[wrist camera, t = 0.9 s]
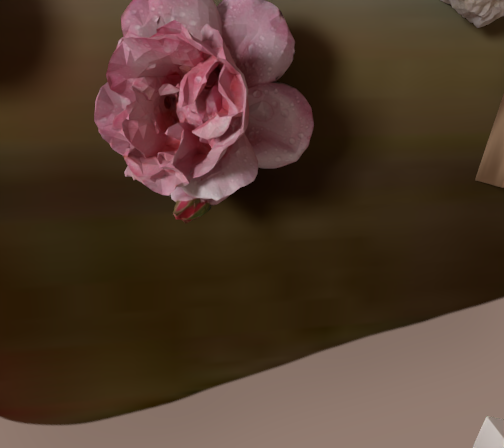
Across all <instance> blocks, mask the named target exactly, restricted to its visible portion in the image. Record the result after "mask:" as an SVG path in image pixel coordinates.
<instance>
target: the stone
mask: <svg viewBox="0 0 504 448" xmlns="http://www.w3.org/2000/svg"><path fill="white" fill-rule="evenodd" d="M441 1H443V2H445V3H447V4H450V5H451V6H452V8H454V9H455V10H456V11H457V12H458V14H460V15H462V16H463V18H467V20H468V21H469V22H470V23H472V22H473V24H474V25H475V26H476V27H477V28H480V27H483V26H486V25H488V24H490V23H492V22H493V21H495V20H496V19H498V18H500V17H502V16H504V0H441Z"/></svg>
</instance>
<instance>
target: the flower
mask: <svg viewBox="0 0 504 448" xmlns="http://www.w3.org/2000/svg"><path fill="white" fill-rule="evenodd" d="M121 23H122V32H123V36H124V37H122V38H121V39H120V40H119V42H118V45H117V48H116V50H115V51H114V53H113V55H112V57H111V59H110V61H109V65H108V70H107V73H106V76H107V81H108V83H106V84H105V85H103V86H102V87H101V88H100V91H99V93H98V96H97V98H96V101H95V116H94V121H95V123H96V125H97V126H98V128H99V133H100V134H101V135H102V138H103V139H104V140H106V141H107V142H108V143H110V146H111V148H112V149H113V150H115V151H116V152H118V153H120V154H121V155H123V156H124V159H125V161H126V163H127V165H128V167H127V168H126V170H125V172H124V173H125V176H126V177H127V176H132V177H133V180H135V179H136V180H138V181H140V182H142V183H143V184H145V185H146V186H147V187H148V188H150V189H151V190H152V191H154V192H157V193H159V194H162V195H168V196H169V195H170V194H171V199H173V200H174V201H175V202H176V205H175V208H174V212H172V213H173V215H174V216H175V217H176V219H180V220H183V221H184V222H185V223H188V222H191V221H193V220H195V219H197V218H199V217H200V216H202V215H203V214H205V213H206V212H207V211H209V210H210V209H211V206H212V205H216V204H218V203H220V202H221V201H223V200H225V199H226V198H227V197H228V196H229V195H231V194H232V193H234V192H235V191H236V190H238V189H239V188H241V187H244V186H246V185H248V184H250V183H251V182H253V181H254V180H255V178H256V176H257V173H258V167H259V168H279V167H282V166H285V165H288V164H291V163H293V162H296V161H297V160H298V159H299V158H300V156H301V155H302V154H303V152H304V151H305V150H306V149H307V148H308V146H309V142H310V138H311V135H312V131H313V127H314V122H313V115H312V108H311V106H310V105H309V103H308V102H307V100H306V98H305V97H304V96H303V95H302V94H301V93H300V92H299V91H298V90H297V89H296V88H294V87H292V86H290V85H288V84H286V83H280V82H277V80H278V79H279V78H281V77H282V75H283V74H284V73H285V72H286V70H287V69H288V68H289V66H290V64H291V63H292V61H293V55H294V54H295V50H294V45H295V40H294V38H293V36H292V34H291V32H290V30H289V27H288V25H287V23H286V21H285V19H284V17H283V15H282V12H281V11H280V10H279V9H278V8H277V7H276V6H275V5H273V4H272V3H270V2H268V1H265V0H223V1H222V2H221V3H219V5H218V6H217V7H216V5H215V3H214V1H213V0H132V2H131V3H130V4H129V5H128V7H127V8H126V10H125V11H124V13H123V14H122V16H121Z"/></svg>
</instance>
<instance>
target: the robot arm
mask: <svg viewBox="0 0 504 448" xmlns="http://www.w3.org/2000/svg"><path fill="white" fill-rule="evenodd" d="M473 448H504V419H500V418H494V417H488V416H487V417H486V419H485V421H484V423H483V426H482V428H481V430H480V432H479V435H478V437H477V439H476V441H475V443H474V445H473Z"/></svg>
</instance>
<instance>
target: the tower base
mask: <svg viewBox="0 0 504 448" xmlns="http://www.w3.org/2000/svg"><path fill="white" fill-rule="evenodd" d="M475 180H477V181H481V182H484V183H488V184H491V185H495V186H498V187H502V188H504V94H503V97H502V100H501V103H500V106H499V109H498V112H497V115H496V118H495V121H494V124H493V127H492V130H491V133H490V137H489V140H488V143H487V146H486V149H485V152H484V155H483V158H482V161H481V164H480V167H479V170H478V173H477V176H476V179H475Z"/></svg>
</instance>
